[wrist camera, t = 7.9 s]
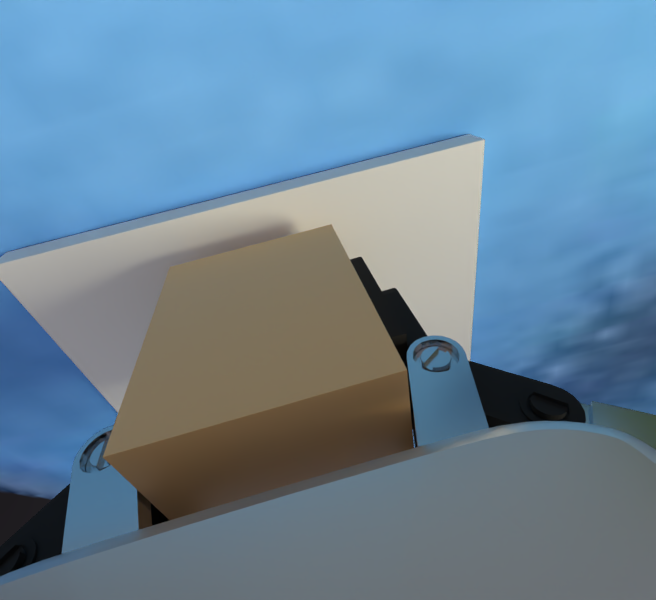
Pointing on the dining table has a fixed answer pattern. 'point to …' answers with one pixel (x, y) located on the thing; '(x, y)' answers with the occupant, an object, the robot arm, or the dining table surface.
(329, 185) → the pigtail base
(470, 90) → the dining table surface
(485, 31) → the dining table surface
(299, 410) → the tan cardboard-like box
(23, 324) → the dining table surface
